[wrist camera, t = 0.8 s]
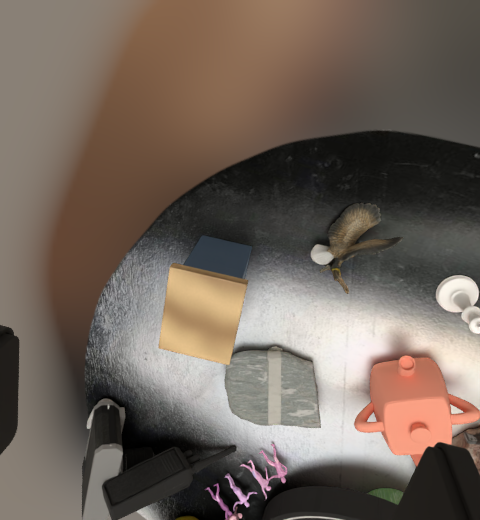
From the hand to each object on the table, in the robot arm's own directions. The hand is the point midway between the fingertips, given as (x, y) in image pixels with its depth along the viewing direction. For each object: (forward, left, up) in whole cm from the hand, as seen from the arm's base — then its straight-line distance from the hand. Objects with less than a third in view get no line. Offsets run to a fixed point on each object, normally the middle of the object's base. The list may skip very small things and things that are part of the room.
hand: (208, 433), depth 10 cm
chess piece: (+13, +25, -46) cm, 54 cm away
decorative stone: (+34, +8, -47) cm, 59 cm away
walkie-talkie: (+51, -13, -34) cm, 63 cm away
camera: (+51, -12, -37) cm, 65 cm away
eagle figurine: (+9, +10, -46) cm, 48 cm away
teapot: (+28, +23, -46) cm, 58 cm away
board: (+17, -5, -34) cm, 38 cm away
